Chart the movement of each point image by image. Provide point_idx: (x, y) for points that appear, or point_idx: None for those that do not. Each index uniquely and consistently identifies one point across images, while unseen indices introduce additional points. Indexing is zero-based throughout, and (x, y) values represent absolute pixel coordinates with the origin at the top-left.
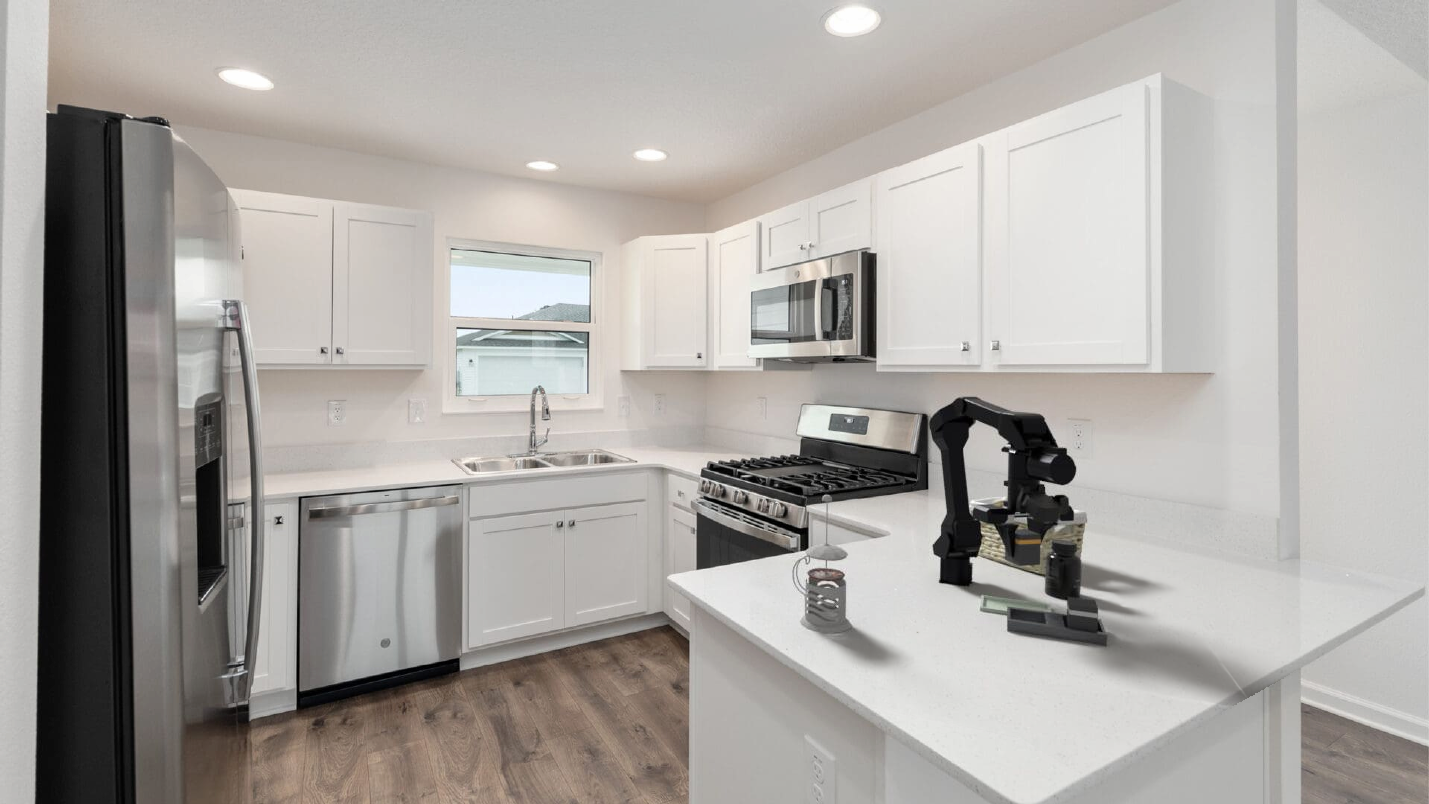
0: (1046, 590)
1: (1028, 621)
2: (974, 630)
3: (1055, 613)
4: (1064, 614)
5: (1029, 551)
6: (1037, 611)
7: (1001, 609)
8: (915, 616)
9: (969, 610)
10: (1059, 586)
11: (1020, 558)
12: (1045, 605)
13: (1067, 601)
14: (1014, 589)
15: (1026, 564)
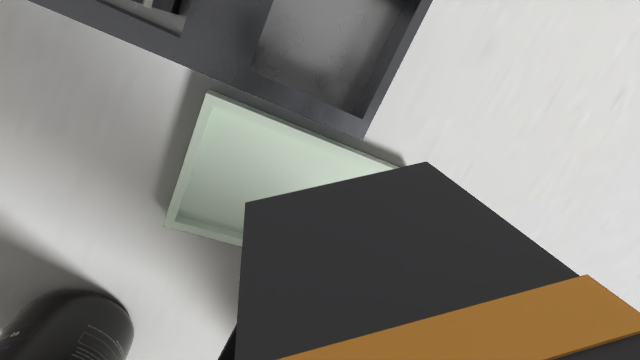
0: (129, 337)
1: (300, 83)
2: (503, 22)
3: (201, 64)
4: (163, 53)
5: (383, 247)
6: (270, 87)
7: (359, 162)
8: (594, 134)
9: None
10: (80, 332)
11: (450, 187)
12: (180, 220)
13: (141, 2)
14: (217, 356)
15: (369, 178)
